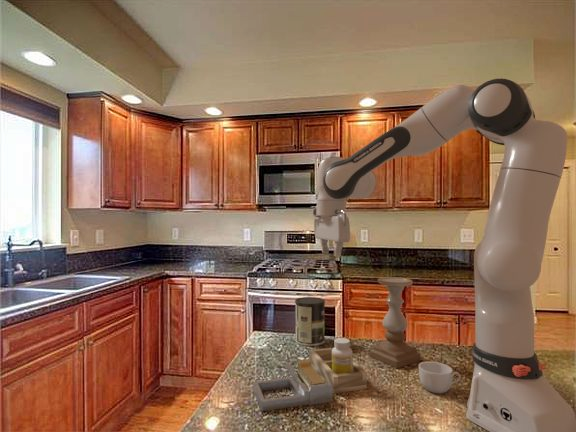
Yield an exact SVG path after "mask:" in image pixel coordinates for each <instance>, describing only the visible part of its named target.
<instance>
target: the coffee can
mask: <svg viewBox="0 0 576 432" xmlns="http://www.w3.org/2000/svg"><path fill="white" fill-rule="evenodd" d="M294 303H295V342H296V344H298V345H301V346H304V347H305V346H306V347H317V346H321V345H323V344H325V341H326V340H325V337H326V336H325V306H326V305H325V303H326V301H325V299H324V298H321V297H314V296H304V297H299V298H296V299H295V300H294Z"/></svg>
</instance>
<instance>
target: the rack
mask: <svg viewBox="0 0 576 432" xmlns="http://www.w3.org/2000/svg"><path fill="white" fill-rule="evenodd" d="M333 348H334V347H325V348H317V349H309V350H308V359H309V360H310V362H311V366H312V367H313V368H314V370H315V371H316V372H317V373H318V374H319V376H320V377H321V378H322V379H323V380H324V382H325V383H331V384H332V395H333V394H334V395H335V394H340V393H345V392H346V393H347V392H348V393H349V392H354V391H360V390H367V389H368V372H367V371H366V370H365V369H363V368H362V367H361V366H360V365H359V364H357V363H356V362H355V360H353V372H351V373H343V374H335V373H334V372H333V371H332V349H333Z"/></svg>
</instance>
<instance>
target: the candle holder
mask: <svg viewBox="0 0 576 432" xmlns="http://www.w3.org/2000/svg"><path fill="white" fill-rule="evenodd" d="M377 282H378V284H380V285H384V286H385V287H386V289H387V290H388V296H387V298H386V299H385V301H386V302H387V305H388V310H387V312H386V314H385V315H384V317H383V319H382V326H383V328H384V329H385V330H386V331H385V332H384V338H385V339H384V340H383V341H382V342H380V343H377V344H374V345H373V347H372V349H370V350H369V357H370V358H372V359H374V360H377V361H379V362H381V363H384V364H385V365H388V366H390V367H392V368H395V369H400V368H404V367H406V366H407V367H408V366H410V365H412V364H415V363H418V362H420V361H421V359H422V358H421V357H422V354H421V353H419V352H418V349H417V348H416V347H413V346H411V345H408V343H407V342H405V340H406V334H405V333H404V331H406V330H407V329H408V321H407V319H406V317H405V315H404V314H403V313H402V306H403V303H405V301H404V299H403V298H402V292H403V290H404V289H405V287H407V286H408V287H410V286H412V285H413V282H414V281H413V280H412V279H409V278H406V277H398V276H397V277H395V276H386V277H380V278H378V279H377Z"/></svg>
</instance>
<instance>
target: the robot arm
mask: <svg viewBox="0 0 576 432" xmlns="http://www.w3.org/2000/svg"><path fill="white" fill-rule="evenodd" d="M468 130H475V131H476V133H478V134H479V135H481V136H483V137H484V138H485V139H486V140H488V141H490V142H492V143H494V144H496V145H501V146H504V155H503V156H504V157H503V159H502V163H501V166H500V169H499V173H498V176H497V180H496V182H495V187H494V189H493V194H492V198H491V201H490V205H489V211H488V215H487V220H486V224H485V228H484V231H483V232H484V233H483V237H482V239H481V240H480V241H479V243H478V244H477V245H476V246H475V249H474V252H473V273H474V274H473V275H474V277H473V278H474V279H473V280H474V308H475V309H474V310H475V311H474V313H475V316H474V317H475V323H474V324H475V325H474V328H475V329H474V330H475V331H474V333H475V335H474V336H475V337H474V338H475V339H474V340H475V342H474V343H473V344H472V345H473V347H472V352H471V353H472V360H473V362H474V366H473V367H474V368H473V373H472V378H471V386H470V392H469V397H468V399H467V401H466V406H467V407H466V408H467V410H466V415H465V418H466V419H467V420H468V421H470V422H472V423H474V424H475V425H477V426H479V427H481V428H482V429H484V430H486V431H488V432H576V413H575V410H574V409H573V407H571V405H570V404H569V403H568V402H567V401H566V400H565V399H564V398H563V397H562V395H561V394H560V393H559V392H558V391H557V390H556V389H555V388H554V387H553V386H552V385H551V384H550V382H549V381H548V380H547V379H546V378H545V377H544V375H543V371H544V370H547V369H548V367H547V365H548V363H540V361H539V359H538V355H537V354H536V351H535V313H534V307H533V302H532V294H531V293H532V292H531V287H532V286H533V285H534V284H535V283H536V282H537V280H538V279H539V277H540V275H541V272H542V271H541V270H542V263H543V258H544V253H545V248H546V242H547V237H548V230H549V221H550V216H551V214H552V213H551V212H552V209H553V207H554V202H555V199H556V196H557V192H558V189H559V186H560V183H561V179H562V175H563V173H564V169H565V164H566V158H567V151H568V150H567V149H568V139H569V138H568V133H567V131H566V129H565V128H564V127H563V126H562V125H560V124H558V123H555V122H553V121H549V120H539V119H537V118H536V114H535V112H534V109H533V106H532V101H531V100H530V98H529V96H528V95H527V94H526V92H525V90H524V89H523V88H522V86H521V85H519V84H518V83H517V82H515V81H513V80H510V79H507V78H494V79H493V78H492V79H490V80H487V81H485V82H484V83H481V84H480V85H479V86H477V88H476V89H473V88H472V87H470V86H468V85H464V84H457V85H454V86H452V87H449V88H448V89H446V90H445V91H443V92H442V93H440V94H438V95H437V96H435V97H433V98H432V99H431V100H429V101H428V102H427V103H425V104H424V105H423V106H422V107H420V108H418V109H417V110H416V111H415V112H413V114H411V115H410V116H408V117H407V118H405V120H403V121H402V122H400V123H398V124H397V125H396V126H395V127H393V128H391V129H389V130H388V131H386V132H384V133H383V134H382V135H380V136H378V137H377V138H375V139H374V140H372V141H371V142H370V143H368V144H366V145H365V146H364V147H363V148H361V149H359V150H358V151H356V152H355V153H353V154H351V155H350V156H349V157H347V158H343V157H342V156H330V157H326V158H324V159H322V160H321V161H320V162H319V164H318V168H317V176H316V189H317V191H318V194H317V199H316V206H315V207H314V208H313V209H312V216H313V229H314V231H313V232H314V237H315V239H318V240H319V239H320V246H321V252H322V254H326V255H328V254H330V253H329V252H330V248H329V245H328V243H329V242H334V246H335V247H334V250H333V257H335V258H339V257H342V249H343V247H344V243H349V242H350V240H351V228H350V227H351V226H350V219H349V217H348V216H347V215H348V214H347V210H346V207H347V205H346V204H347V203H346V202H347V201H346V200H347V199H350V200H362V199H366V198H369V197H370V196H372V194H374V192H375V190H376V187H377V177H376V175H375V173H374V172H373V171H375V170H376V169H378V168H379V167H381V166H382V165H383V164H385V163H387V162H389V161H391V160H394V159H398V158H403V157H417V156H425V155H427V154H431V153H432V152H434V151H436V150H438V149H440V148H441V147H442V146H444V145H445V144H447V143H448V142H450V141H451V140H452V139H454V138H455V137H457V136H458V135H460V134H461V133H463V132H464V131H468Z"/></svg>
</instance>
